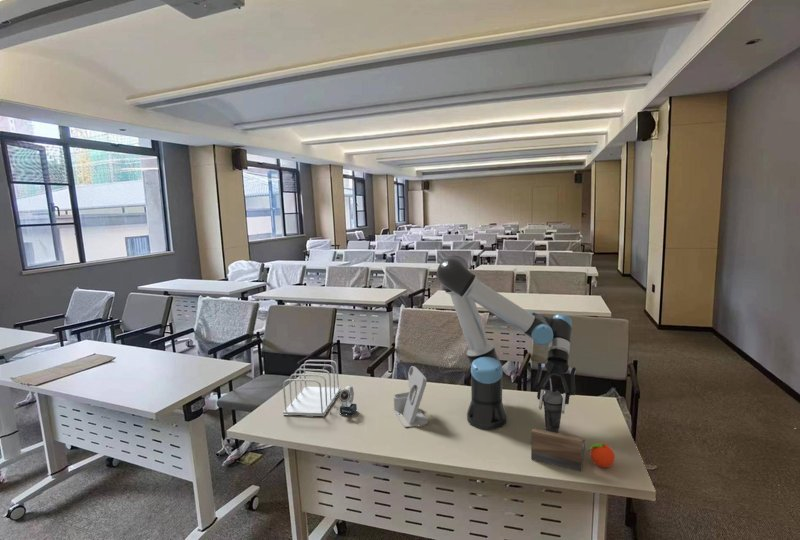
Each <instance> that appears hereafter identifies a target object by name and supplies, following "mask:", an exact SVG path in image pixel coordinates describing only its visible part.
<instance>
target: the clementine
mask: <svg viewBox="0 0 800 540" xmlns="http://www.w3.org/2000/svg"><path fill="white" fill-rule="evenodd" d="M587 451H590V452H589V453H590V458H591V460H592V462H593V463H594V464H595V465H597V466H598V467H600V468H609V467H611V466H612V465H613V464H614V463H615V458H616V457H615V453H614V450H613V449H612V448H611V447H610V446H609V445H608V444H605V443H601V442H599V443H597V444H596V443H595V444H592V445H591V446H589V448H588V449H587Z"/></svg>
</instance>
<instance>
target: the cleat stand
mask: <svg viewBox="0 0 800 540" xmlns="http://www.w3.org/2000/svg"><path fill="white" fill-rule="evenodd" d="M530 441H531V443H530V444H531V447H530V448H531V449H530V450H531V453H530V454H531V455H530V456H531V457H530V460H531V459H532V460H531V461H534V460H535V462H538V463H544V464H547V465H553V466H557V467H561V468H564V469H568V468H569V469H570V470H573V471H577V472H578V471H579V472H581V471H582V467H583V461H584V454H585V450H586V449H585V444H586V440H584V439H583V437H578V436H574V435H568V434H563V433H559V432H558V433H554V432H549V431H546V430H544V429H540V428H539V429H538V428H532V429H531V440H530Z"/></svg>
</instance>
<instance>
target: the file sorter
mask: <svg viewBox="0 0 800 540" xmlns="http://www.w3.org/2000/svg"><path fill="white" fill-rule="evenodd" d="M308 362H322V363H323V362H326V364H321V363H308ZM330 362H331V363H334V364H335V367H334V366H333V365H331V364H327V363H330ZM306 366H314V367H315V366H316V367H317V366H318V367H330V368H332V374H333V386H332V384H331V383H332V381H331V378H332V377H331V373H330V371H328V370H326V369H322V368H321V369H318V368H316V369H315V368H306ZM302 367H303V368H302ZM302 371H303V373H302ZM306 371H309V372H310V371H311V372H312V371H314V372H315V371H316V372H325V373H327V374H328V379H329V380H328V382H329V383H328V385H329V386H327V379H326V378H325V376H324V375H322V374H308V373H306ZM335 371H336V372H335ZM297 372H299V373H297ZM335 373H336V376H335ZM297 376H299V378H298V379H297ZM303 376H304V379H302V377H303ZM292 377H294V378H292ZM307 377H318V378H319V377H320V378H322V379H323V381H324V386H322V385H321V382H320V381H318V380H316V379H307ZM287 382H289V395H290V396H289V399H290V400H289V401H290V403H289V405H288V406H287V399H286V398H287V397H286V388H285V387H286V386H285V384H286V383H287ZM292 382H294V388H295V389H294V391H295V397H294V398H293V396H292V395H293V394H292ZM297 382H299V384H300V385H299V388H300V391H299V393H298V391H297V389H298V387H297ZM302 382H304V387H302ZM307 382H315V383H317V384H318V386H307ZM339 384H340V383H339V371H338V363H337V362H336V361H335V360H331V359H307V360H305V361H304V362H303V364H301V365H300V366H299V368H297V369H296V370H295V371H294V373H292V374H291V375H290V376H289V378H288V379H285V380H284V382H283V384H282V391H283V399H284V400H283V401H284V410H283V411H282V415H283V414H288V415H308V416H307V417H313V416H324V415H326V414H327V413H328V411H329V410H328V409H330V408H331V407H330V406H332V405H333V404H334V402H335V400H336V399H337V397H338V396H339V394H338V393H339V392H341V391H342V389H341V388H342V387H340V386H339ZM336 385H337V387H336ZM340 390H341V391H340ZM337 395H338V396H337ZM336 396H337V397H336ZM335 398H336V399H335ZM334 399H335V400H334ZM333 401H334V402H333ZM331 404H332V405H331ZM329 407H330V408H329ZM326 412H327V413H326ZM324 417H325V416H324Z"/></svg>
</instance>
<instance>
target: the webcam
mask: <svg viewBox="0 0 800 540" xmlns="http://www.w3.org/2000/svg"><path fill="white" fill-rule="evenodd" d="M354 397H355V391H354V387H353V386H349V385H345V386H344V387H343V388H342V389H341V391H340V393H339V394H338V398H339V401H340V403H341V405H340V406H339V414H340V413H341V414H347V415H346V416H349V415H353V414H354V413H355V412H356V413H357V411H358V409H357V405H358V404H357V403H353V401H354ZM356 410H357V411H356ZM356 413H355V414H356ZM341 414H340V415H341ZM355 414H354V415H355ZM354 415H353V416H354Z"/></svg>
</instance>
